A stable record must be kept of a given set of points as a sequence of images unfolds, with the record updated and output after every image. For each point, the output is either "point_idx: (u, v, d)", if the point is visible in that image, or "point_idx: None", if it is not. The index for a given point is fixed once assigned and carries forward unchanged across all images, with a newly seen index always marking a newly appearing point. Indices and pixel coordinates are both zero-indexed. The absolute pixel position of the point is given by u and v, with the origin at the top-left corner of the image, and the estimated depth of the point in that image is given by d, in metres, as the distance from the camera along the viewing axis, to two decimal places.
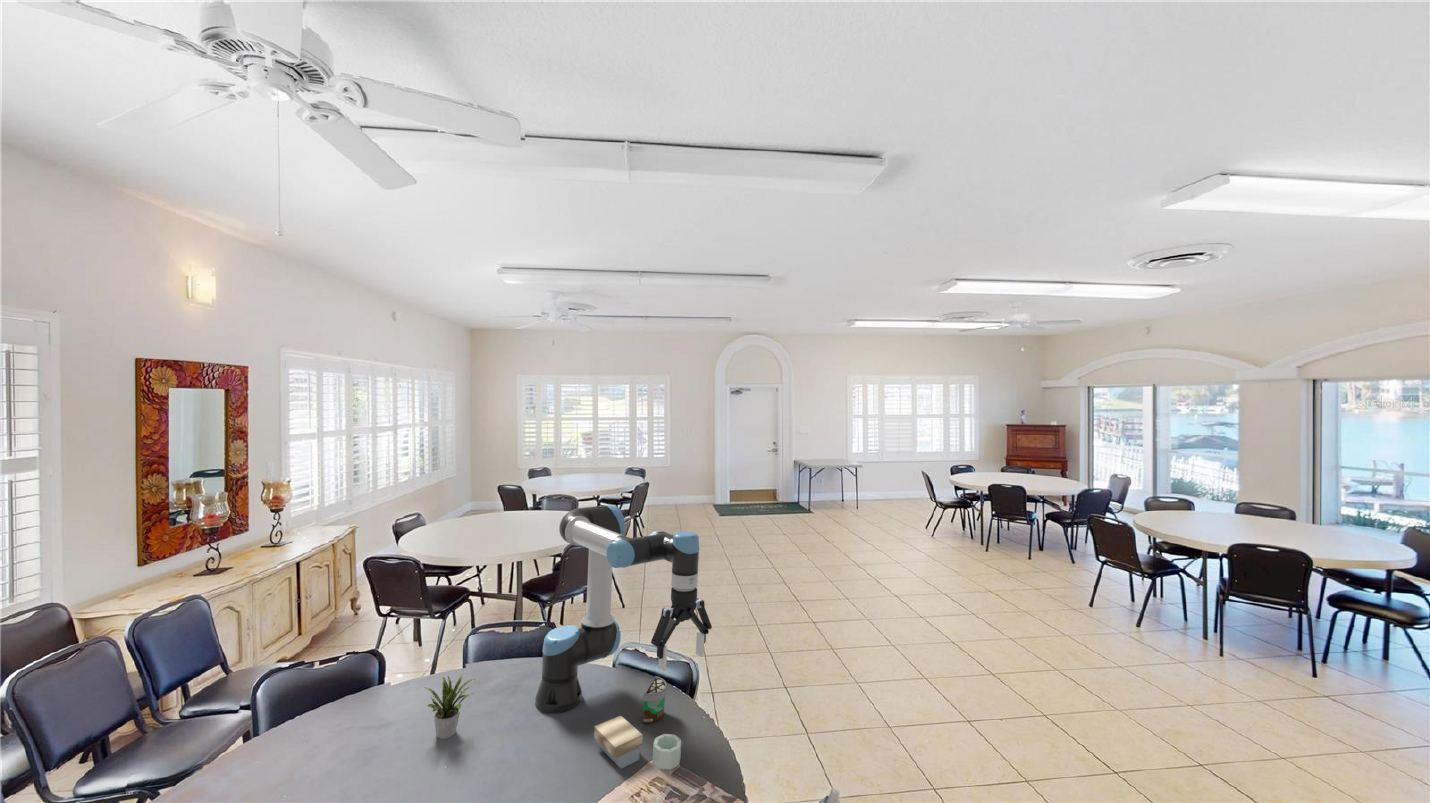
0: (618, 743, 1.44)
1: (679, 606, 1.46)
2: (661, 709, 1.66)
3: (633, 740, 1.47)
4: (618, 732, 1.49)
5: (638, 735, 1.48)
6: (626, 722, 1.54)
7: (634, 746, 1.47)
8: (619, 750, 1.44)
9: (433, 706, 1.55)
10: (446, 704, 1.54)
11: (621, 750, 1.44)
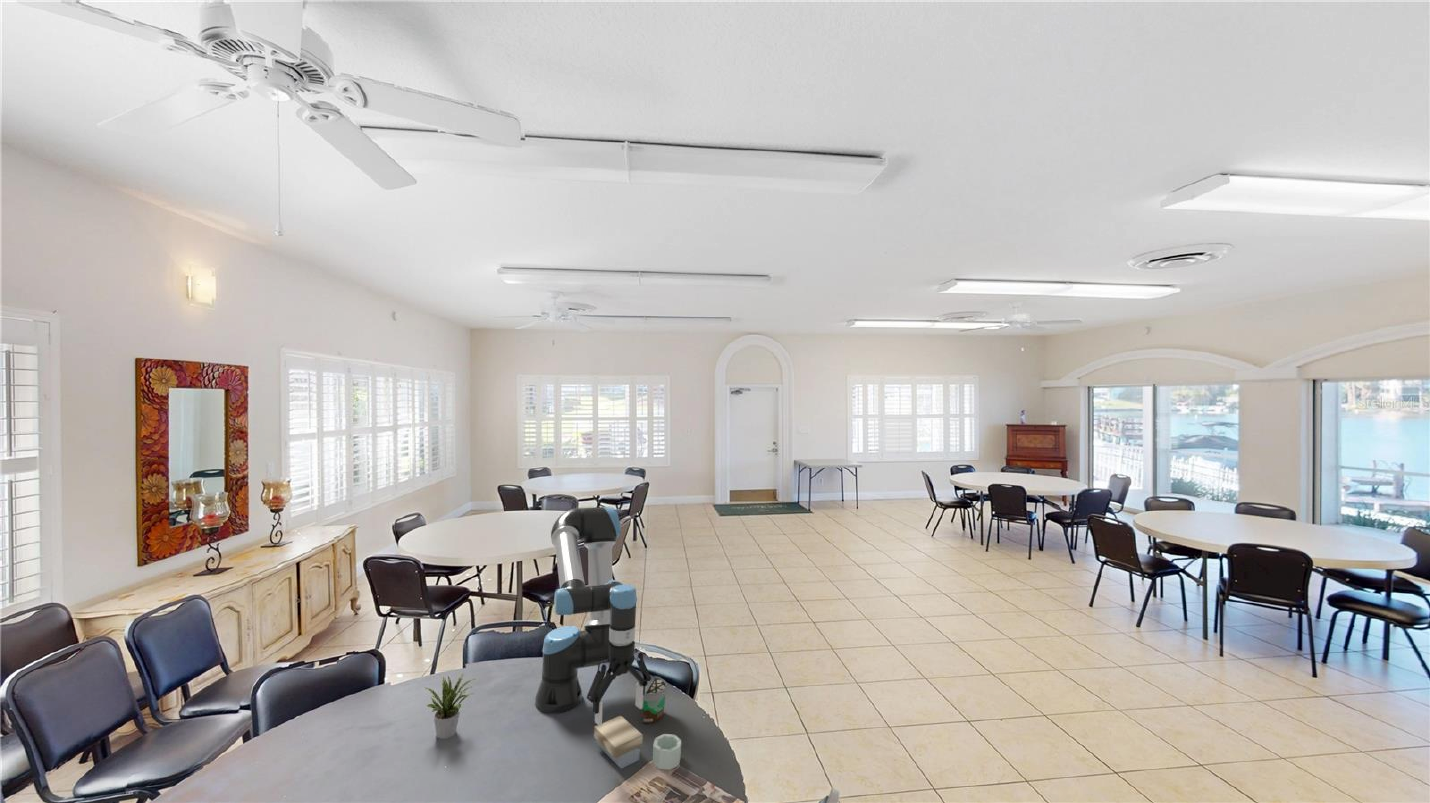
0: (618, 743, 1.44)
1: (616, 660, 1.48)
2: (661, 709, 1.66)
3: (633, 740, 1.47)
4: (618, 732, 1.49)
5: (638, 735, 1.48)
6: (626, 722, 1.54)
7: (634, 746, 1.47)
8: (619, 750, 1.44)
9: (433, 706, 1.55)
10: (446, 704, 1.54)
11: (621, 750, 1.44)
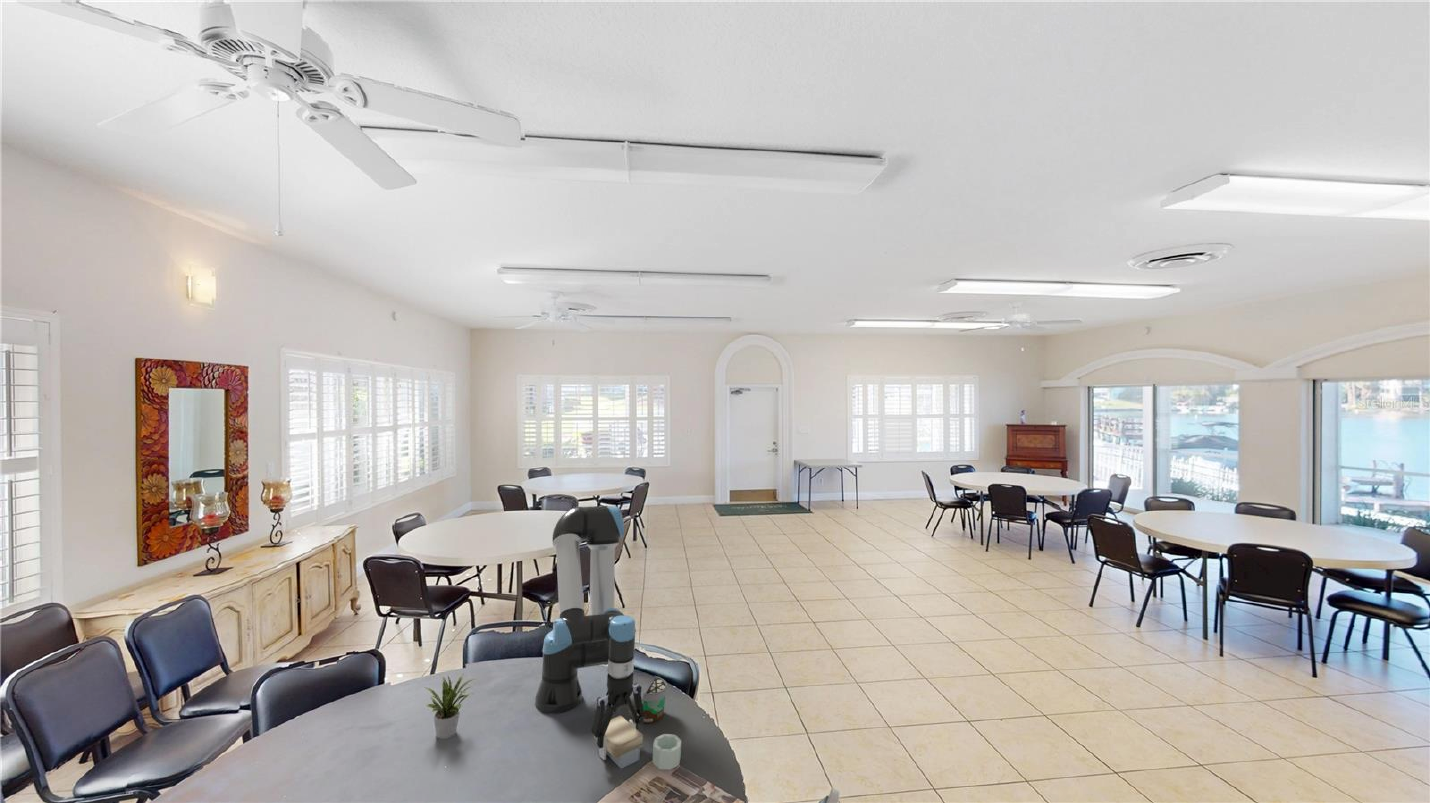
0: (618, 743, 1.44)
1: (613, 692, 1.48)
2: (661, 709, 1.66)
3: (633, 740, 1.47)
4: (618, 732, 1.49)
5: (638, 735, 1.48)
6: (626, 722, 1.54)
7: (634, 746, 1.47)
8: (619, 750, 1.44)
9: (433, 706, 1.55)
10: (446, 704, 1.54)
11: (621, 750, 1.44)
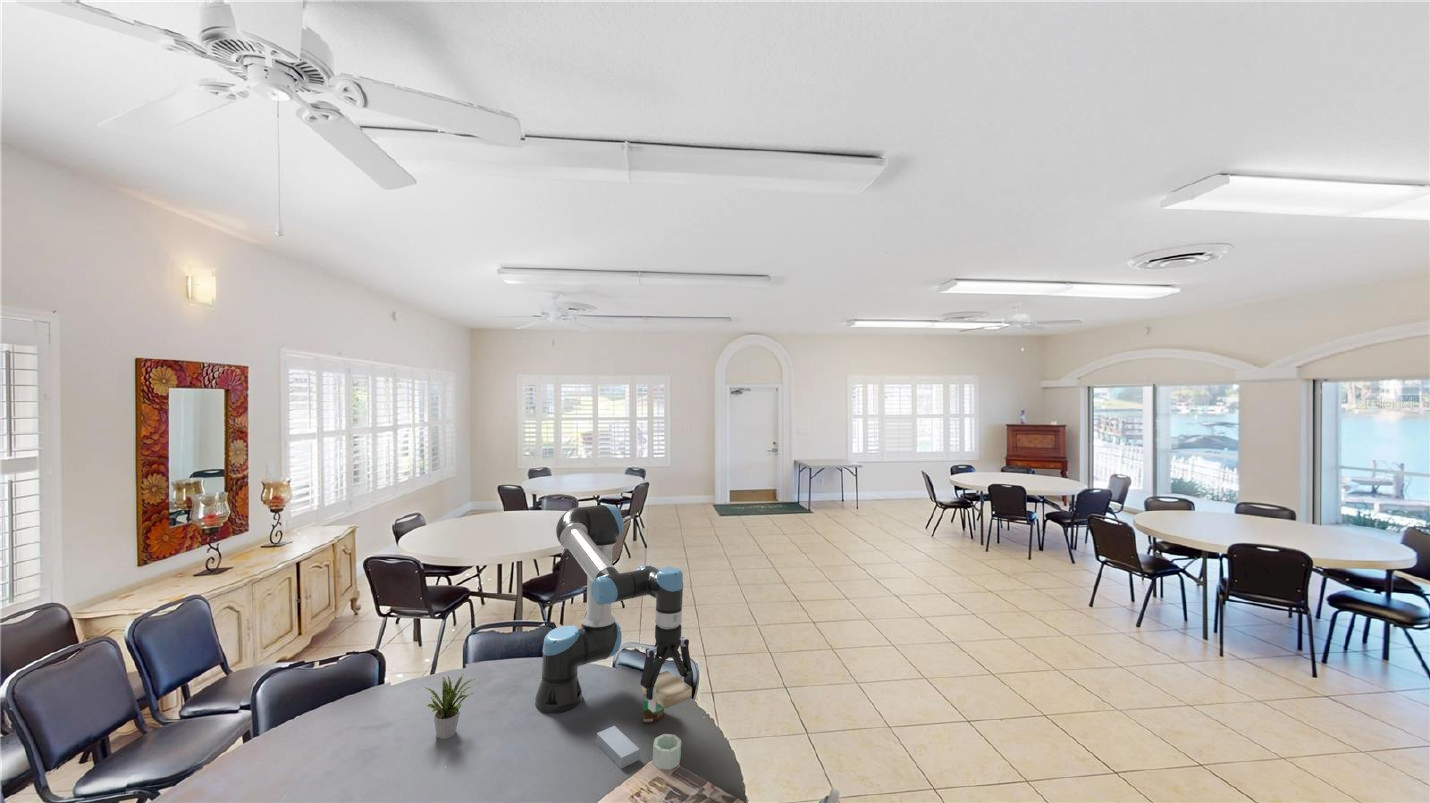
0: (668, 694, 1.41)
1: (662, 643, 1.45)
2: (661, 709, 1.66)
3: (683, 692, 1.44)
4: (666, 685, 1.46)
5: (687, 687, 1.45)
6: (673, 676, 1.51)
7: (684, 698, 1.44)
8: (669, 701, 1.41)
9: (433, 706, 1.55)
10: (446, 704, 1.54)
11: (671, 701, 1.41)
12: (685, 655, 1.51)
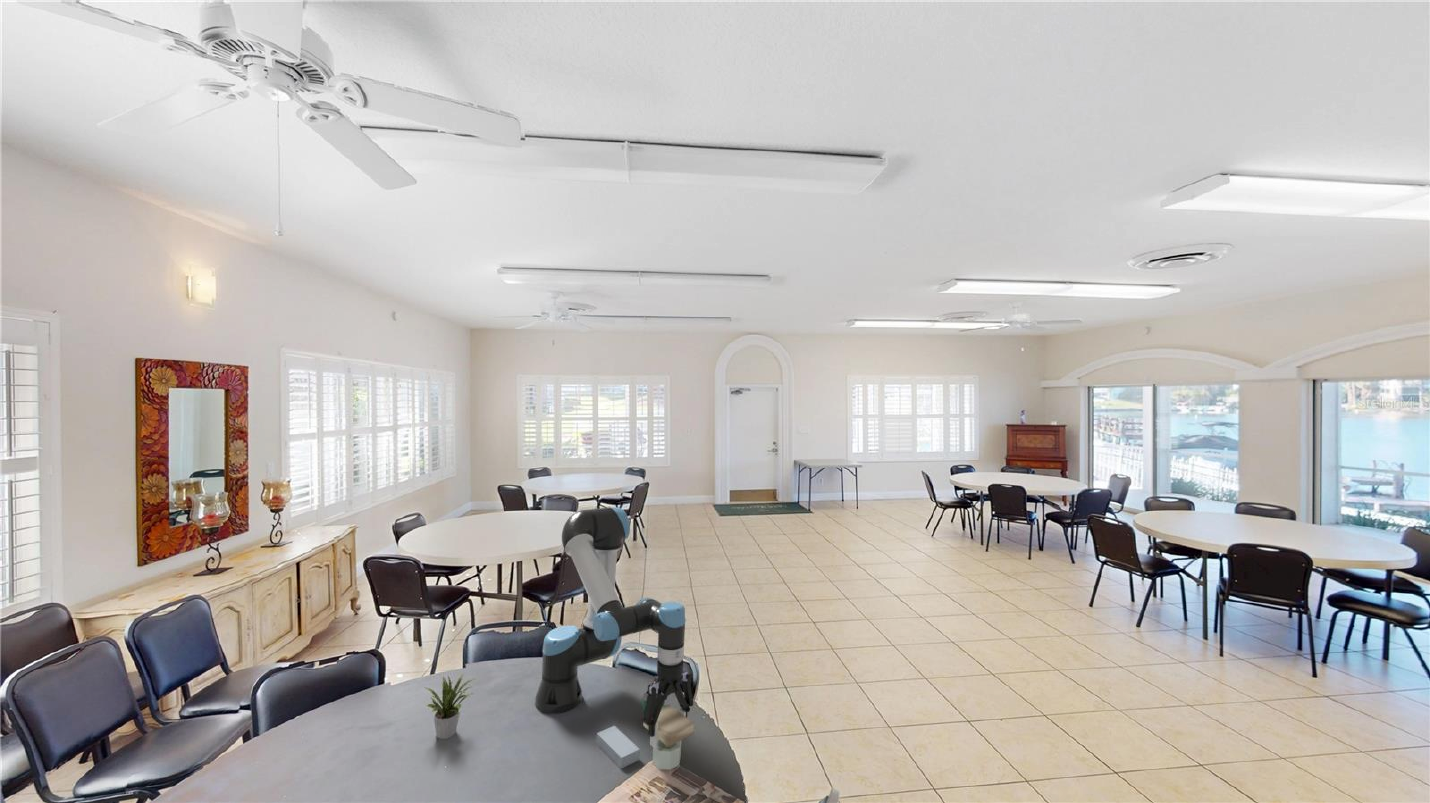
0: (670, 732, 1.41)
1: (664, 680, 1.45)
2: None
3: (685, 728, 1.44)
4: (669, 721, 1.46)
5: (689, 723, 1.45)
6: (675, 711, 1.51)
7: (686, 734, 1.44)
8: (671, 738, 1.41)
9: (433, 706, 1.55)
10: (446, 704, 1.54)
11: (674, 738, 1.41)
12: (687, 690, 1.51)
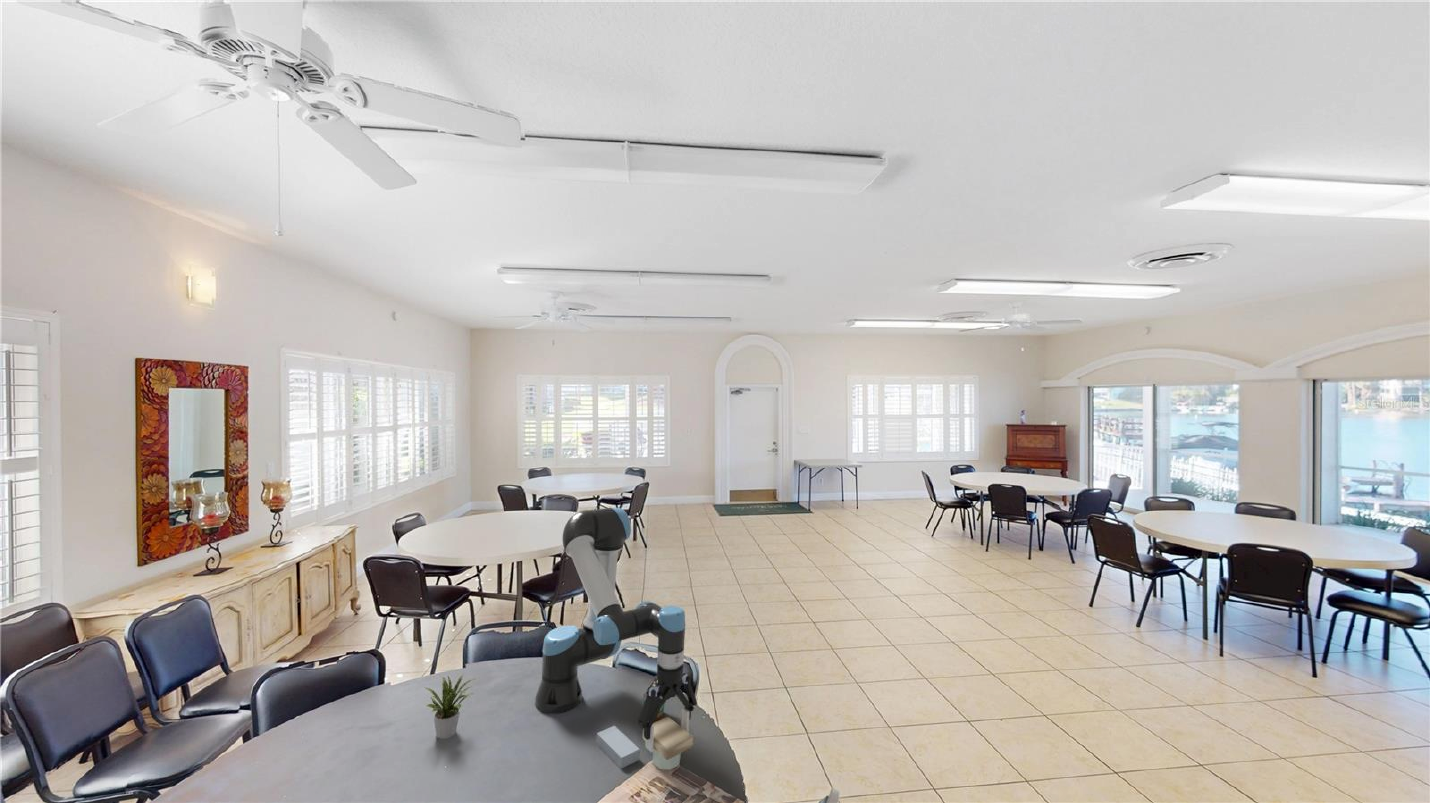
0: (669, 745, 1.41)
1: (665, 684, 1.45)
2: (661, 709, 1.66)
3: (684, 742, 1.44)
4: (668, 734, 1.46)
5: (689, 737, 1.45)
6: (674, 723, 1.51)
7: (685, 748, 1.44)
8: (671, 752, 1.41)
9: (433, 706, 1.55)
10: (446, 704, 1.54)
11: (673, 752, 1.41)
12: (688, 691, 1.51)
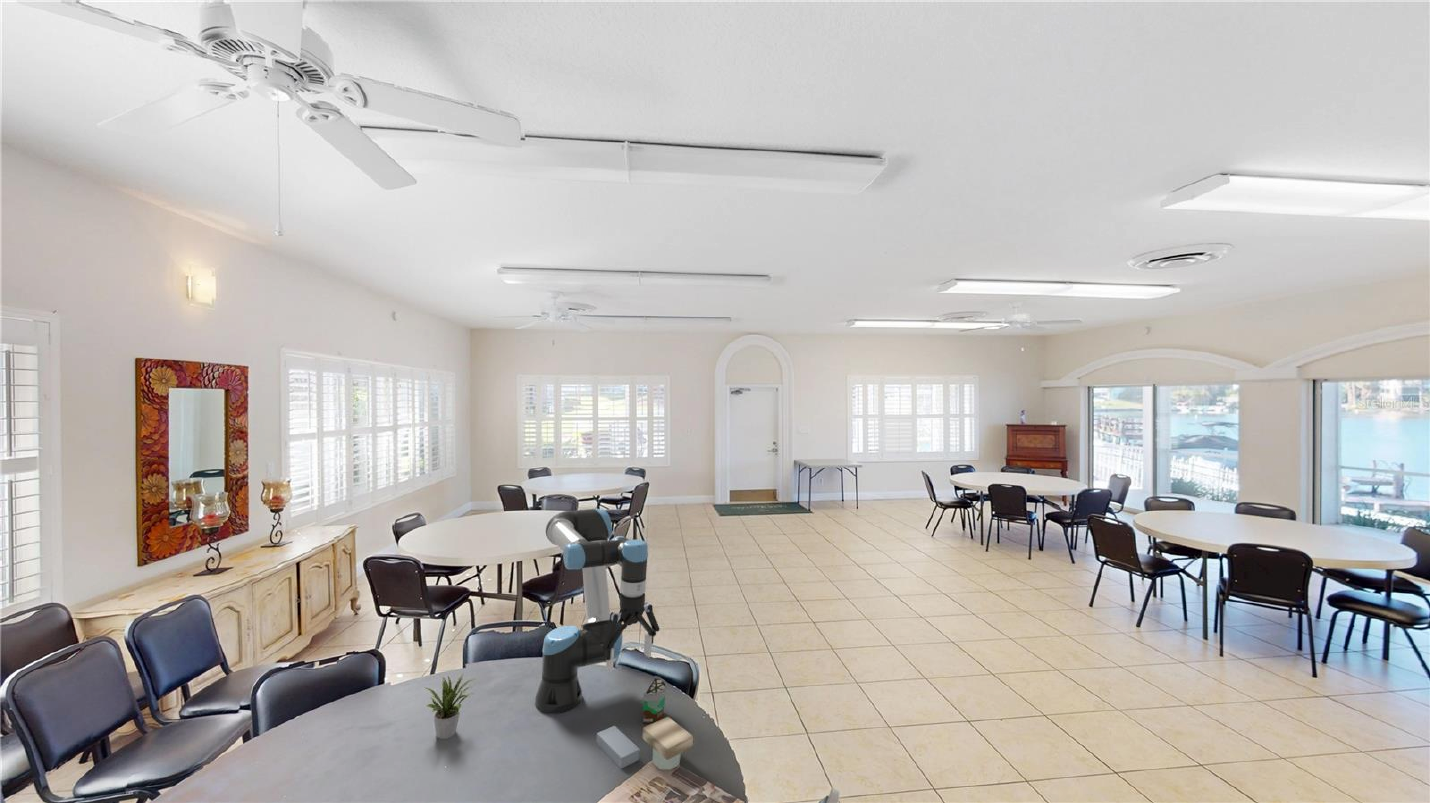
0: (669, 745, 1.41)
1: (627, 611, 1.54)
2: (661, 709, 1.66)
3: (684, 742, 1.44)
4: (668, 734, 1.46)
5: (689, 737, 1.45)
6: (674, 723, 1.51)
7: (685, 748, 1.44)
8: (671, 752, 1.41)
9: (433, 706, 1.55)
10: (446, 704, 1.54)
11: (673, 752, 1.41)
12: (651, 618, 1.60)
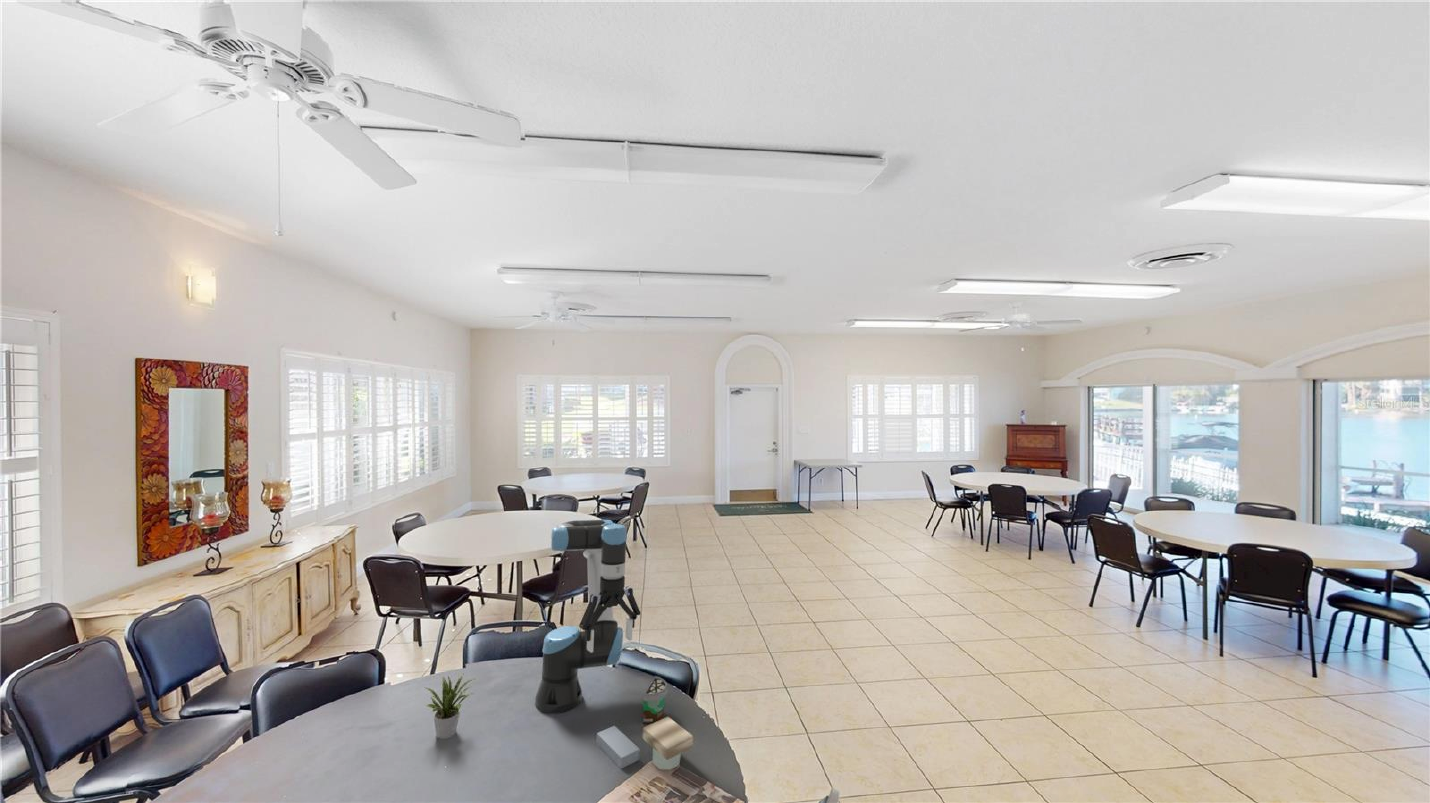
0: (669, 745, 1.41)
1: (607, 593, 1.58)
2: (661, 709, 1.66)
3: (684, 742, 1.44)
4: (668, 734, 1.46)
5: (689, 737, 1.45)
6: (674, 723, 1.51)
7: (685, 748, 1.44)
8: (671, 752, 1.41)
9: (433, 706, 1.55)
10: (446, 704, 1.54)
11: (673, 752, 1.41)
12: (631, 602, 1.64)
